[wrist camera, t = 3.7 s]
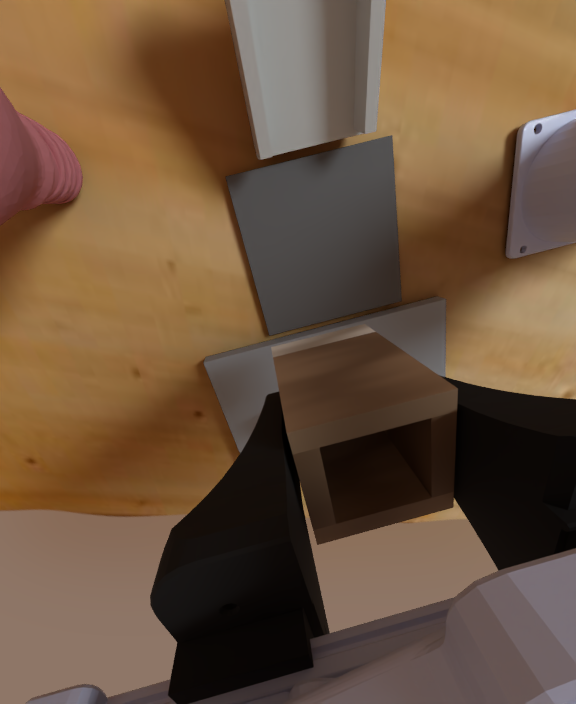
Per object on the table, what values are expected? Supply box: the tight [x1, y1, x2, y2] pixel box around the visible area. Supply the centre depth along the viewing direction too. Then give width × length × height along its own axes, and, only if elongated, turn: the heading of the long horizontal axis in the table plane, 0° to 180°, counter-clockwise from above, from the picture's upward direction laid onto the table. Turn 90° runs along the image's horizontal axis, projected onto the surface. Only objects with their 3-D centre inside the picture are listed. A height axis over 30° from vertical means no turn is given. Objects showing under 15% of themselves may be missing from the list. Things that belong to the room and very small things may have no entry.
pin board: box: [203, 296, 446, 453], centre depth 20 cm, size 18×11×4 cm, turn 103°
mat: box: [226, 135, 402, 336], centre depth 18 cm, size 10×10×1 cm
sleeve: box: [271, 324, 458, 545], centre depth 10 cm, size 4×4×6 cm
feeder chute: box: [225, 0, 386, 160], centre depth 11 cm, size 6×8×6 cm
